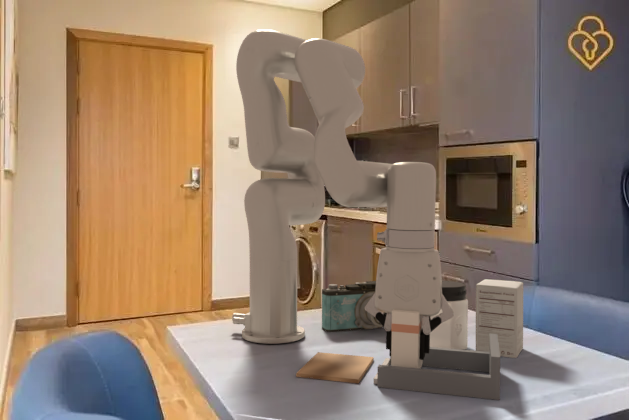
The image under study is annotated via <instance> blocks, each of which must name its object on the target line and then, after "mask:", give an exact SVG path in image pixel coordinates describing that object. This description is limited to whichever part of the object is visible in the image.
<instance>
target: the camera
mask: <svg viewBox="0 0 629 420" xmlns="http://www.w3.org/2000/svg"><path fill="white" fill-rule="evenodd" d="M375 290H376V280H372V281H371V280H370V281H369V280H368V281H367V280H366V281H361V282H355V283H354V284H352V283H351V284H345V285H344V284H342V285H341V284H340V285H339V287H338V284H336V283H335V284H334V283H331V284H328V288H323V289H321V330H323V331H324V332H327V333H328V332H329V333H334V332H336V333H337V332H347V331H348V332H349V331H359V330H360V329H363V330H373V328H376V329H382V328H381V327H383V326H382V324H381V323H380V322H379V321H378V320H377V319H376V317H374V316H372V315H371V314H370V313H368V312H367V311H366V310H365V306H366V305H367V303H368V302H369V300H370V299H371V298H372V296H373V295H374V293H375ZM385 314H386V315H387V313H385ZM360 331H361V330H360Z"/></svg>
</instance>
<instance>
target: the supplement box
mask: <svg viewBox="0 0 629 420" xmlns="http://www.w3.org/2000/svg"><path fill="white" fill-rule="evenodd" d="M489 334H497V336H498V344H499V352H500V357H505V358H510V359H511V358H512V359H517V358H518V357H519V355H520V354H521V352H522V350H523V349H524V282H522V281H517V280H515V281H514V280H503V279H502V280H501V279H490V278H489V279H486V278H485V279H483V280H481V281H480V282H478V283H476V284H475V351H486V352H489Z"/></svg>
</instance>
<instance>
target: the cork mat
mask: <svg viewBox="0 0 629 420" xmlns="http://www.w3.org/2000/svg"><path fill="white" fill-rule="evenodd" d="M374 358H375V357H374V356H363V355H354V354H344V353H343V354H342V353H333V352H332V353H331V352H330V353H329V352H319V351H317V352H316V354H314V356H313V357H311V358H310V360H308V361H307V362H306V363H305V364H304V365H303V366H302V367H301V368H299V370H298V371H297V372H296V373H295V377H296V378H303V379H313V380H322V381H323V380H324V381H332V382H333V381H334V382H341V383H342V382H343V383H351V384H359V383H360V382H361V381H362V379H363V378H364V376H365V374H366V373H367V371H368V370H369V369H370V367H371V365H372V364H373V362H374Z"/></svg>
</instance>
